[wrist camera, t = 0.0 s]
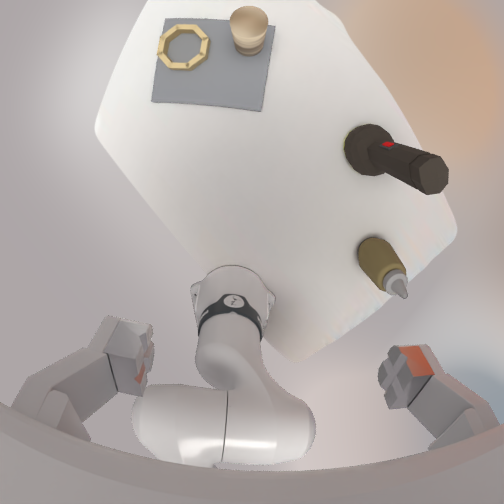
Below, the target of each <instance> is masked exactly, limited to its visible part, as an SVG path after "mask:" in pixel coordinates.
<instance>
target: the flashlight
mask: <svg viewBox="0 0 504 504" xmlns="http://www.w3.org/2000/svg"><path fill="white" fill-rule="evenodd" d="M344 150H345V154H346V158H347V160H348V161H349V162H350V164H351V165H352V167H353V168H354V170H356V171H357V172H359V173H360V174H362V175H369V176H377V175H380V174H384V173H385V172H386V173H388V174H389V175H391V176H393V177H395V178H397V179H399V180H401V181H403V182H405V183H406V184H408V185H410V186H412V187H414V188H415V189H418V190H419V191H421V192H422V193H424V194H426V195H431V194H437V193H440V192H441V191H442V190H443V189H444V188H445V186H446V185H447V184H448V172H449V169H448V167H447V166H446V164H445V163H444V161H443V159H442V158H441V157H440V156H437V155H434V154H430V153H428V152H425V151H422V150H419V149H415V148H412V147H409V146H405V145H402V144H398V143H395V142H394V140H393V139H392V137H391V136H390V134H389V133H388V132H387V131H385V130H384V129H383V128H382V127H380V126H378V125H373V124H367V125H363V126H359V127H357V128H355V129H354V130H353V131H351V132H350V133H349V135H348V136H347V138H346V140H345V147H344Z"/></svg>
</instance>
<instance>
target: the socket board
mask: <svg viewBox="0 0 504 504" xmlns="http://www.w3.org/2000/svg"><path fill="white" fill-rule="evenodd" d="M274 31H275V26H271V25H268V26H267V31H266V35H265V40H264V45H263V48H262V50H261V52H260V53H258V54H257V55H255V56H243V55H241V54H240V53H238V52H237V50H236V48H235V45H234V40H233V36H232V31H231V27H230V20H217V19H193V18H170V19H165V23H164V27H163V32H162V36H160V40H159V45H158V51H157V55H158V59H157V65H156V71H155V78H154V85H153V92H152V100H151V102H169V103H187V104H201V105H212V106H222V107H231V108H239V109H246V110H254V111H260V112H261V108H262V102H263V96H264V90H265V84H266V78H267V72H268V66H269V60H270V54H271V49H272V43H273V37H274Z"/></svg>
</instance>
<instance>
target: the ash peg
mask: <svg viewBox="0 0 504 504" xmlns="http://www.w3.org/2000/svg"><path fill="white" fill-rule="evenodd" d="M267 26H268V17H267V15H266V14H265V12H264V11H263V10H261V9H259V8H257V7H254V6H244V7H241V8H239V9H237V10H235V11H234V12H233V14H232V15H231V17H230V27H231V31H232V36H233V40H234V45H235V48H236V50H237V52H238V53H240V54H241V55H243V56H255V55H257V54H258V53H260V52H261V50H262V48H263V45H264V40H265V35H266V31H267Z"/></svg>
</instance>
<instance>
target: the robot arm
mask: <svg viewBox="0 0 504 504" xmlns="http://www.w3.org/2000/svg"><path fill="white" fill-rule="evenodd" d="M195 293H197V295H196V294H195ZM191 296H192V302H193V307H194V312H195V317H196V322H197V327H198V336H199V340H198V345H197V350H196V356H195V363H196V367H197V369H198V371H199V373H200V374H201V376H202V377H203V379H204V380H205V381H206V382H207V383H209V384H210V385H211V386H213V387H215V388H216V389H211V388H203V387H196V386H189V385H183V384H162V385H161V384H160V385H150V386H148V387H146V384H147V375H146V374H147V373H148V372H150V371H151V368H152V365H153V358H154V343H153V342H152V341H151V338H152V335H153V329H152V325H151V324H147V323H141V322H137V321H132V320H128V319H123V318H117V317H113V316H109V315H108V316H106V317H105V318H104V320H103V321H102V323H101V325H100V326H99V328H98V330H97V332H96V333H95V335H94V337H93V339H92V340H91V342H90V344H89V346H88V348H81V349H80V350H78V351H76V352H74V353H72V354H71V355H68V356H67V357H65V358H63V359H61V360H59V361H57V362H55V363H54V364H52V365H50V366H48V367H46V368H44V369H43V370H41V371H39V372H37V373H35V374H33V375H31V376H29V377H28V378H27V379H26V381H25V383H24V385H23V386H22V388H21V390H20V391H19V393H18V395H17V397H16V398H15V400H14V402H13V404H12V406H11V407H8V406H6V405H4V404H3V403H1V402H0V504H504V423H503V424H501V425H500V424H499V422H498V420H497V418H496V416H495V414H494V412H493V411H492V409H491V407H490V405H489V403H488V402H487V401H486V400H484V399H483V398H481V397H480V396H479V395H477V394H476V393H475V392H473V391H472V390H470V389H469V388H468V387H466V386H465V385H463V384H462V383H461V382H459V381H458V380H456V379H455V378H454V377H452V376H451V375H450V374H445V372H444V370H443V369H442V367H441V365H440V364H439V362H438V360H437V358H436V357H435V355H434V353H433V352H432V350H431V348H430V347H429V346H428V345H426V344H424V345H397V346H393V347H391V348H390V350H389V352H388V358H387V359H386V360H385V361H383V362H382V364H381V366H380V368H379V372H378V381H379V384H380V386H381V387H382V388H383V389H384V390H385V394H384V397H385V400H386V403H387V405H388V408H389V409H399V408H407V409H408V410H409V411H410V412H411V413H412V414H413V415H414V416H415V417H416V418H417V419H418V420H419V421H420V422H421V424H422V425H423V426H424V427H425V428H426V429H427V430H428V431H429V432H430V433H431V434H432V435H433V436H434V437H435V438H436V440H435V441H434V442H433V443H431V444H430V446H429V447H428V450H429V451H426V452H422V453H418V454H414V455H410V456H407V457H402V458H397V459H393V460H388V461H383V462H377V463H371V464H365V465H358V466H351V467H343V468H334V469H322V470H307V471H242V470H227V469H218V468H217V467H216V466H215V464H216V463H234V464H251V465H272V464H279V463H284V462H289V461H294V460H298V459H301V458H302V457H303V456H304V455H305V454H306V453H307V452H308V450H309V449H310V447H311V446H312V443H313V441H314V438H315V434H316V423H315V418H314V416H313V413H312V411H311V410H310V408H309V407H308V406H307V404H306V403H305V402H304V401H303V400H301V399H299V398H296V397H295V396H293V395H291V394H290V393H288V392H287V391H285V390H284V389H283V388H282V387H281V386H279V385H278V384H277V383H276V382H275V380H274V379H273V378H272V377H271V376H270V375H269V373H268V372H267V370H266V368H265V366H264V364H263V360H262V354H261V346H260V342H261V339H262V337H263V335H264V329H263V328H262V327H266V326H267V321H266V320H268V317H269V312H270V310H271V308H272V306H273V304H274V302H275V296H274V294H273V293H272V292H270V291H269V290H267V289H266V287H265V285H264V284H263V282H262V280H261V279H260V278H259V276H258V275H256V274H255V273H254V272H252V271H251V270H249V269H247V268H244V267H240V266H224V267H220V268H218V269H215V270H214V271H212V272H211V273H209V274H208V275H207V276H206V277H205V278H204V279H203V280H202V281H200V282H197V283H195V284H193V285H192V286H191ZM268 302H269V303H268ZM118 392H121V393H126V394H131V395H136V396H138V397H137V398H136V400H135V402H134V404H133V407H132V413H131V421H132V426H133V430H134V432H135V434H136V436H137V438H138V440H139V441H140V442H141V444H143V445H144V446H145V447H146V448H147V449H148V450H150V451H151V452H152V453H153V454H154V455H155V456H156V457H157V458H158V460H157V459H152V458H147V457H143V456H139V455H134V454H131V453H127V452H123V451H119V450H116V449H112V448H109V447H105V446H102V445H99V444H96V443H92V442H90V441H91V438H90V436H89V434H88V432H87V431H86V429H85V427H84V425H83V424H82V422H84V421H85V420H86V419H87V418H88V417H90V416H91V415H92V414H93V413H95V412H96V411H97V410H98V409H99V408H101V407H102V406H103V405H104V404H105V403H107V402H108V401H109V400H110V399H111V398H113V397H114V396H115V395H116V394H117V393H118Z"/></svg>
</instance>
